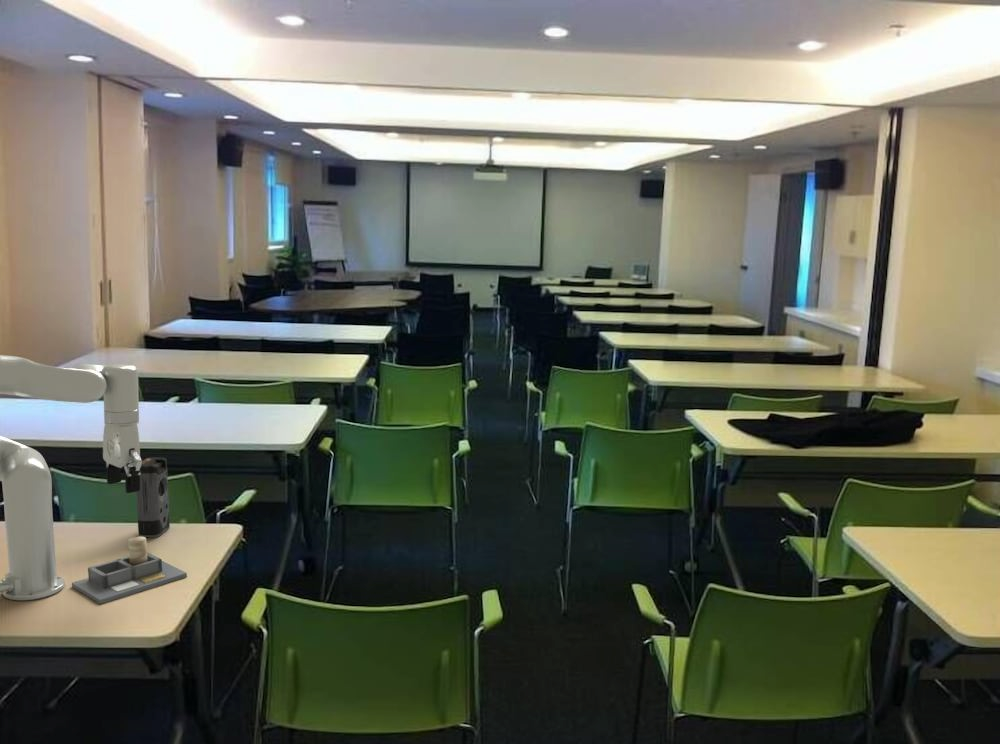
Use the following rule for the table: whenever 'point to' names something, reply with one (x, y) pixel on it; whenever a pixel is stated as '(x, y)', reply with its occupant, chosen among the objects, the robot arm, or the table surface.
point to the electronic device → (153, 498)
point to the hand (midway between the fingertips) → (123, 487)
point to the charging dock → (126, 578)
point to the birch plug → (137, 550)
